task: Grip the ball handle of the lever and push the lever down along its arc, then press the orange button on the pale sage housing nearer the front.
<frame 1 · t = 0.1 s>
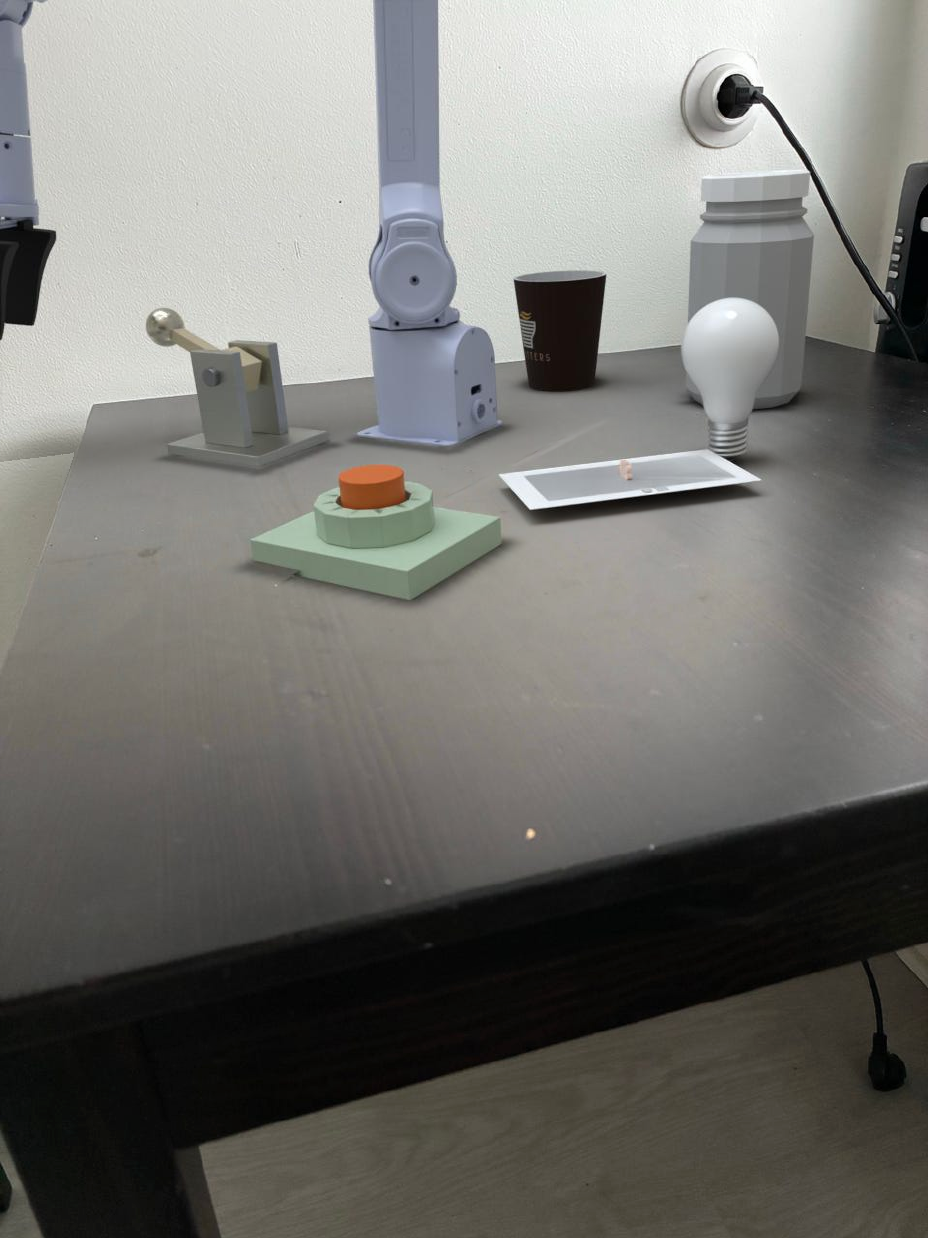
hand: (3, 331, 75), 11 cm above the table, tool pointing down, fingers open, 7 cm apart
start button: (372, 488, 55), point 4 cm above the table, slide at 0.1 cm
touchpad: (625, 496, 65), on the table
bracket: (249, 452, 80), on the table
lever: (200, 348, 78), point 8 cm above the table, hinge at 22.0°
jar: (742, 401, 87), on the table
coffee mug: (560, 382, 98), on the table
button box: (379, 555, 57), on the table
lightbulb: (727, 461, 70), on the table
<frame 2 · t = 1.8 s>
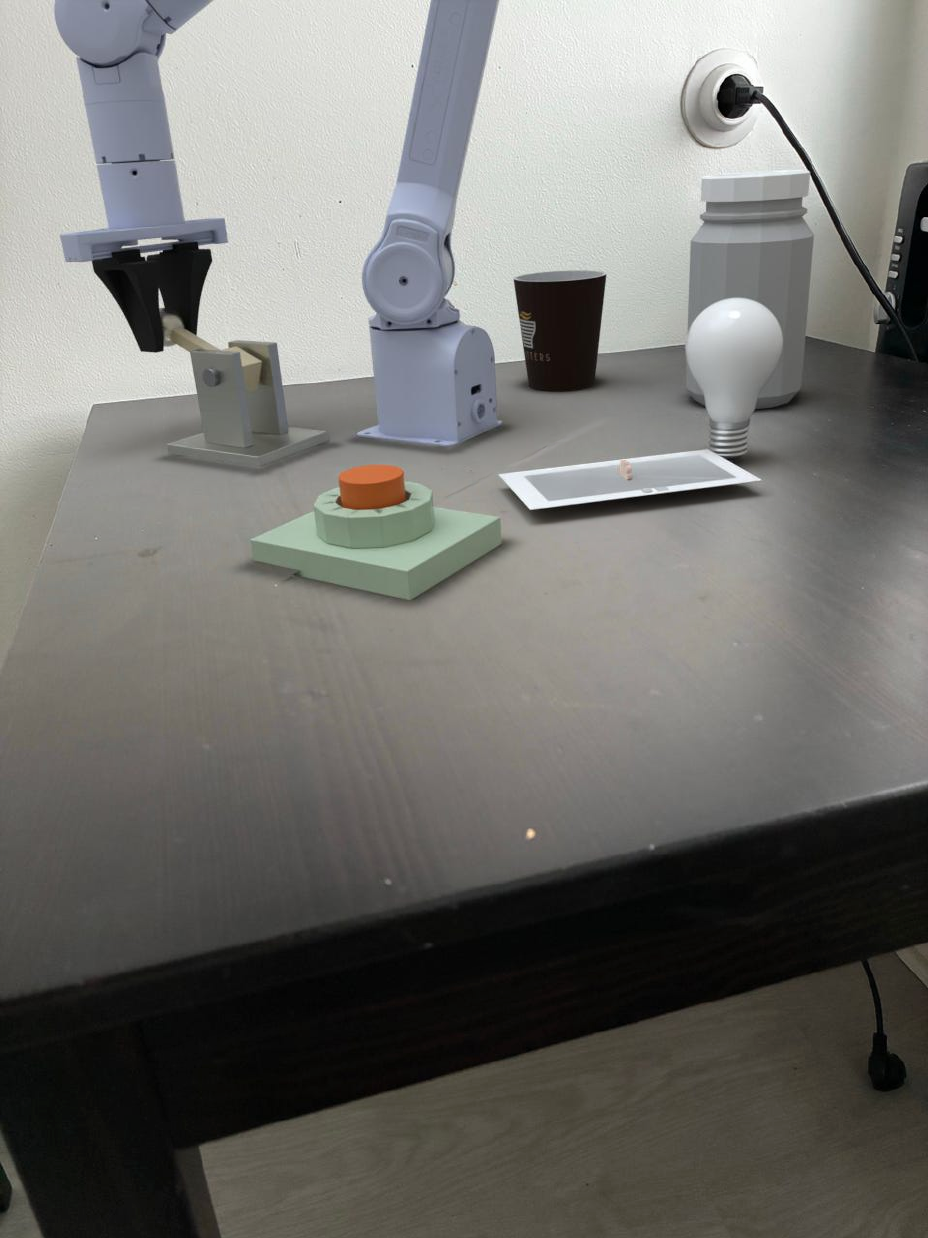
hand: (169, 347, 80), 8 cm above the table, tool pointing down, fingers closed on lever, 3 cm apart
lever: (200, 348, 78), point 8 cm above the table, hinge at 22.0°, touching gripper
everything else where it was.
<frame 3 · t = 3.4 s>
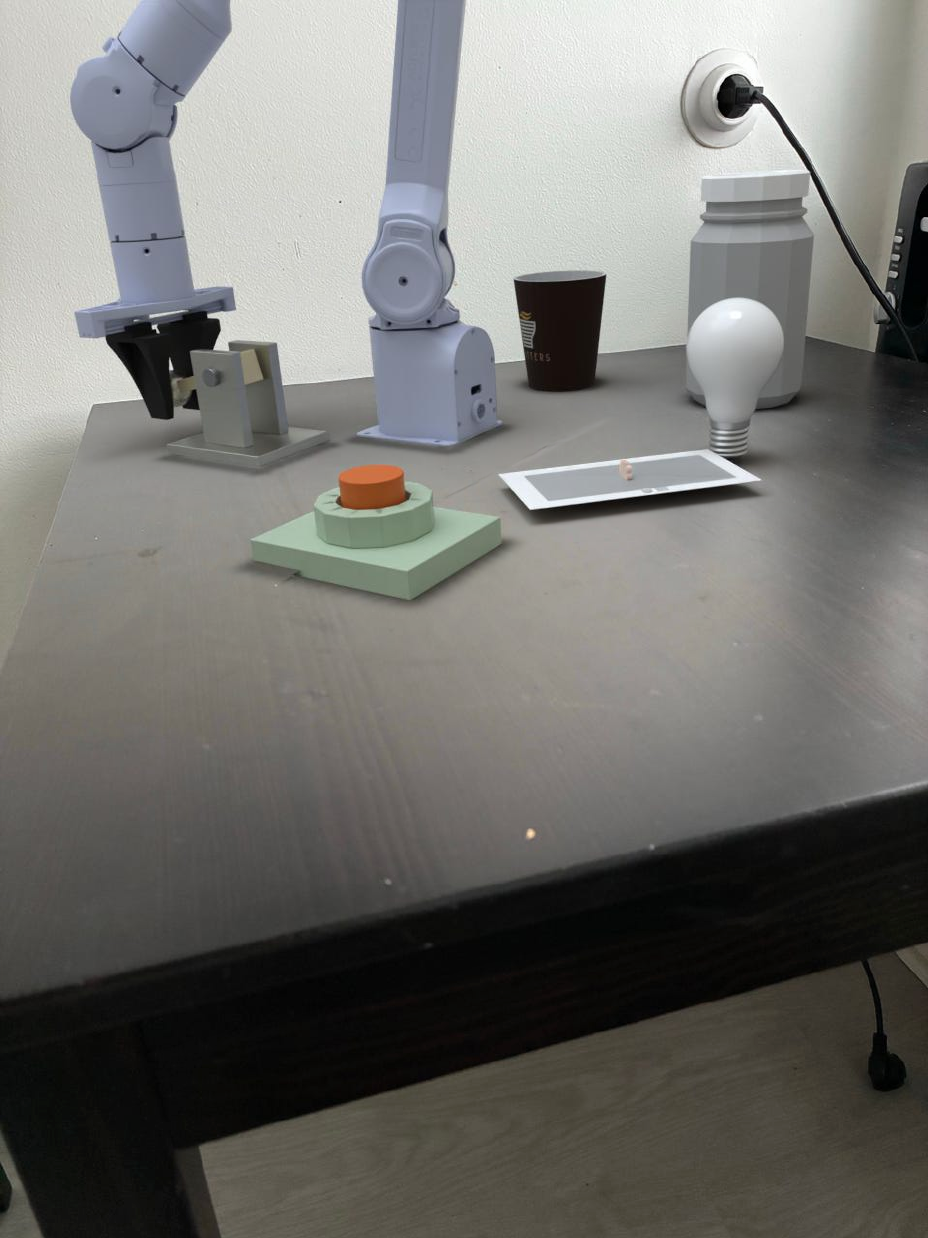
hand: (178, 413, 83), 3 cm above the table, tool pointing down, fingers closed on lever, 3 cm apart
lever: (203, 379, 80), point 6 cm above the table, hinge at -14.0°, touching gripper
everything else where it was.
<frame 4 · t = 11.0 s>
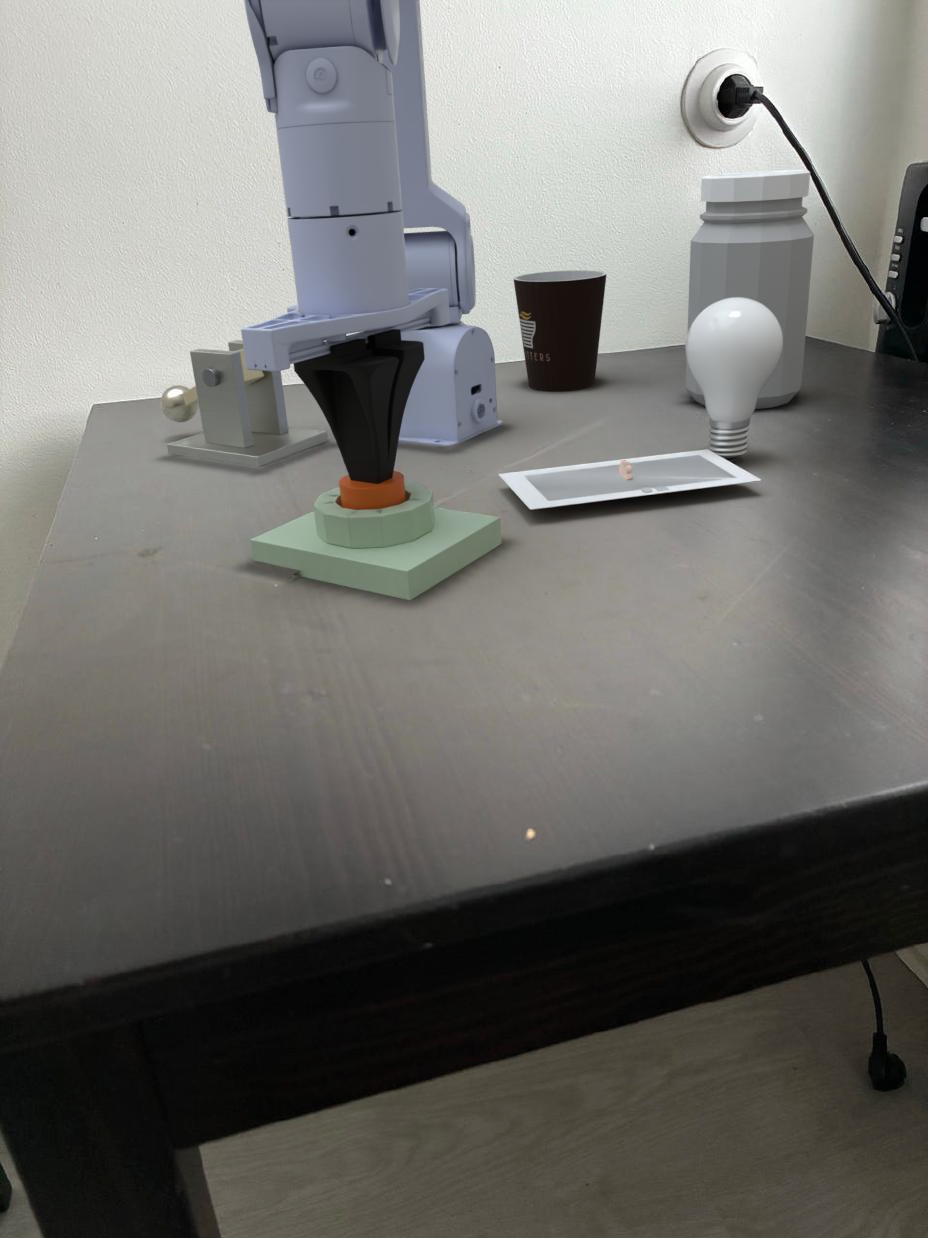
hand: (371, 479, 55), 5 cm above the table, tool pointing down, fingers closed, pressing on start button
start button: (372, 493, 55), point 4 cm above the table, slide at -0.2 cm, touching gripper
lever: (207, 387, 80), point 5 cm above the table, hinge at -23.3°
everything else where it was.
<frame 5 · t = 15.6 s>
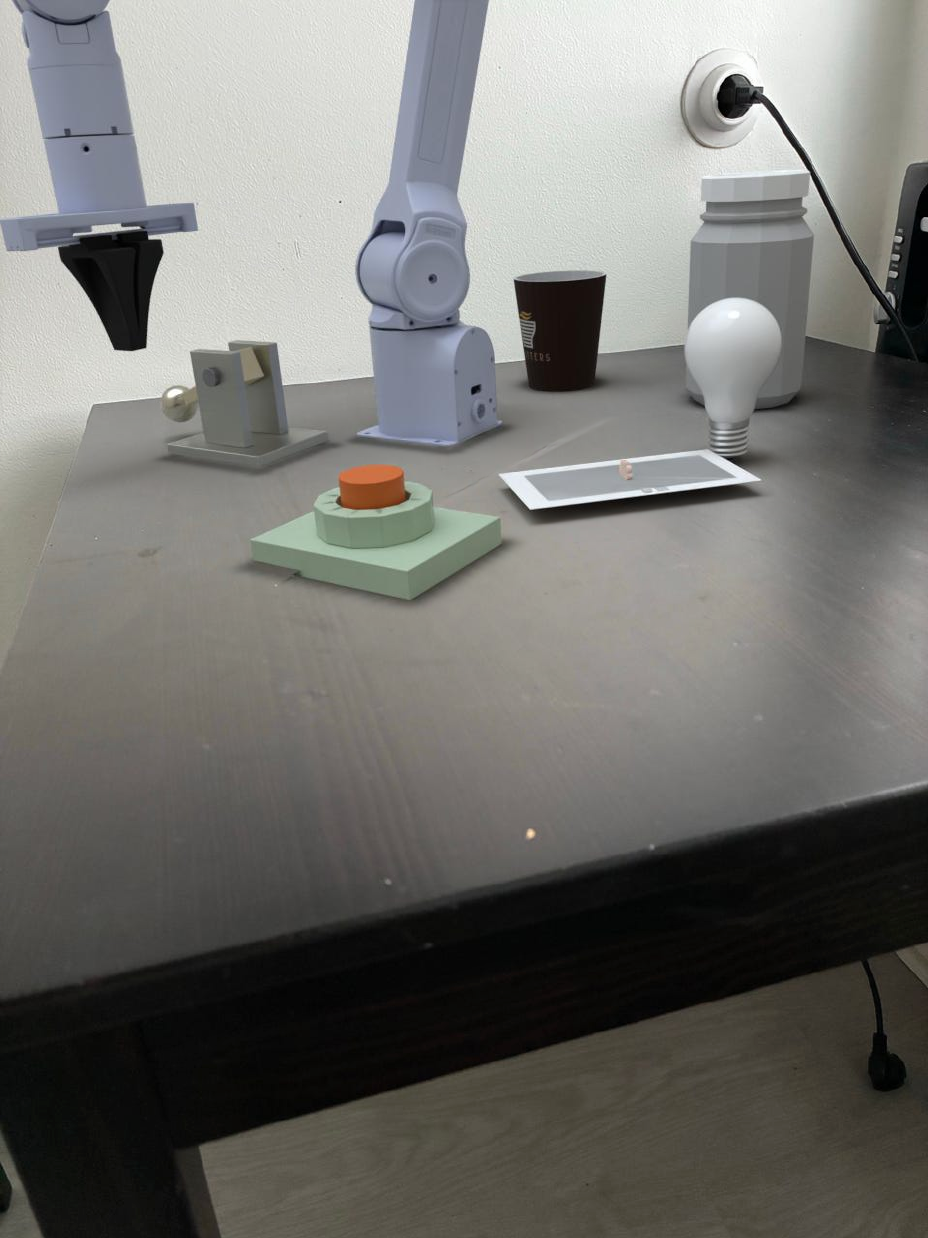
hand: (130, 349, 71), 9 cm above the table, tool pointing down, fingers closed
start button: (372, 488, 55), point 4 cm above the table, slide at 0.1 cm
everything else where it was.
at the end: lever at -23° (first picture: +22°); start button pushed in 1.2 cm at the most during the clip, back to where it started at the end; start button slide at 0.1 cm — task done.
